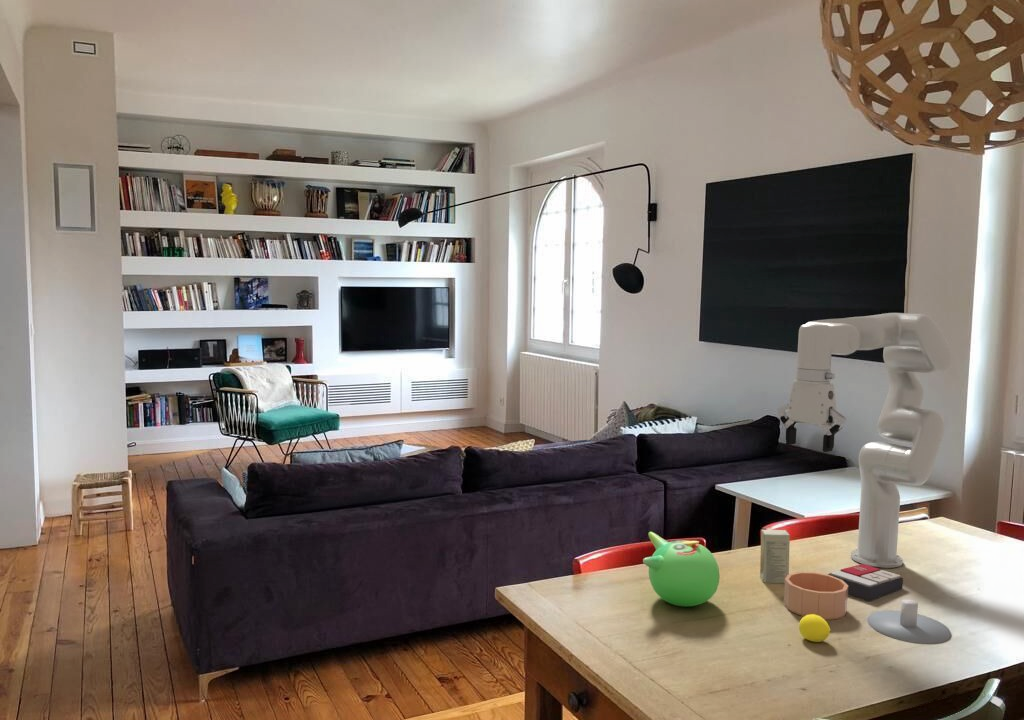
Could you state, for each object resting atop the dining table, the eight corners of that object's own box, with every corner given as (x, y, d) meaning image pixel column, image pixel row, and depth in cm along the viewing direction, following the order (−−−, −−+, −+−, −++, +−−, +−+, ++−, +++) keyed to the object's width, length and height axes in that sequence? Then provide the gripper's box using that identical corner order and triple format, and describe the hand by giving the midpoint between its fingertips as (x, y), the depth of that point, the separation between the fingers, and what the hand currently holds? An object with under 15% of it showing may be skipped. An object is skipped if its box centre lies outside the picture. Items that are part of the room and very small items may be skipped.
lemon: (792, 640, 170) (790, 614, 170) (808, 634, 173) (806, 608, 173) (823, 648, 164) (821, 621, 164) (838, 642, 168) (836, 615, 168)
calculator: (904, 574, 199) (870, 584, 190) (902, 592, 199) (868, 602, 190) (861, 562, 208) (827, 570, 199) (860, 578, 208) (826, 588, 199)
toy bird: (720, 621, 178) (722, 555, 176) (640, 613, 181) (642, 548, 180) (716, 591, 195) (719, 530, 194) (644, 584, 199) (646, 525, 197)
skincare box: (784, 577, 205) (787, 529, 204) (788, 584, 201) (791, 535, 200) (758, 576, 206) (760, 528, 205) (761, 582, 201) (764, 533, 200)
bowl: (791, 593, 195) (792, 568, 194) (850, 604, 188) (851, 579, 188) (778, 611, 184) (780, 585, 183) (841, 624, 177) (842, 597, 177)
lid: (872, 608, 188) (873, 583, 187) (951, 624, 180) (953, 598, 179) (862, 633, 174) (864, 606, 173) (948, 651, 166) (950, 623, 165)
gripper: (856, 379, 191) (851, 452, 192) (789, 372, 204) (785, 440, 206) (838, 380, 186) (833, 455, 187) (771, 373, 199) (768, 443, 201)
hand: (808, 447), depth 197 cm, fingers open, 9 cm apart
